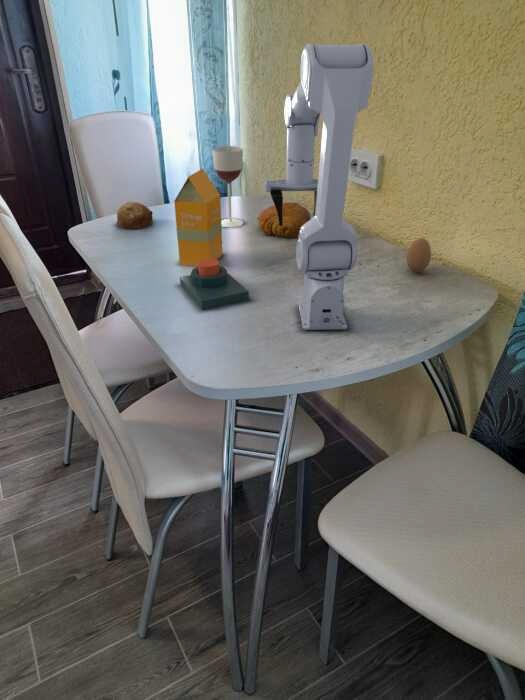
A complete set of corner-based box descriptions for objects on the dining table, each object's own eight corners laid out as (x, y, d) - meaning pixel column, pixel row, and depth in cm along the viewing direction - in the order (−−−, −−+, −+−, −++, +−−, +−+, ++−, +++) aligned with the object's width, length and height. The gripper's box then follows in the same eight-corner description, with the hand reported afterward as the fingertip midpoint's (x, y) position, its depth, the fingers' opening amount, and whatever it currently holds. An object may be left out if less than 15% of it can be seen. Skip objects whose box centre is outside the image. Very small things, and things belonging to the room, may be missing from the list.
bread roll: (122, 232, 148) (106, 209, 143) (151, 213, 149) (136, 189, 144) (129, 242, 141) (113, 218, 136) (160, 222, 142) (145, 198, 137)
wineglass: (211, 226, 142) (207, 151, 131) (222, 217, 149) (219, 145, 138) (238, 229, 140) (236, 152, 129) (248, 219, 147) (247, 147, 136)
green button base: (248, 300, 101) (248, 282, 99) (202, 310, 97) (200, 291, 95) (223, 277, 111) (223, 260, 109) (180, 285, 107) (178, 268, 105)
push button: (223, 275, 103) (222, 264, 102) (202, 278, 101) (202, 268, 100) (215, 267, 106) (214, 257, 105) (195, 271, 105) (194, 260, 103)
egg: (399, 270, 115) (404, 236, 110) (416, 266, 117) (422, 232, 113) (415, 278, 111) (421, 243, 107) (432, 274, 113) (439, 239, 109)
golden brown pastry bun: (313, 230, 145) (316, 202, 142) (303, 240, 131) (306, 209, 128) (264, 225, 148) (266, 197, 145) (250, 234, 134) (252, 203, 131)
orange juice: (223, 254, 123) (219, 169, 113) (210, 267, 116) (205, 177, 105) (193, 251, 125) (187, 167, 114) (178, 264, 118) (170, 175, 107)
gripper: (331, 155, 108) (327, 218, 115) (264, 156, 108) (264, 219, 115) (337, 162, 102) (332, 228, 109) (266, 163, 102) (266, 229, 109)
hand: (297, 224), depth 112 cm, fingers open, 7 cm apart
